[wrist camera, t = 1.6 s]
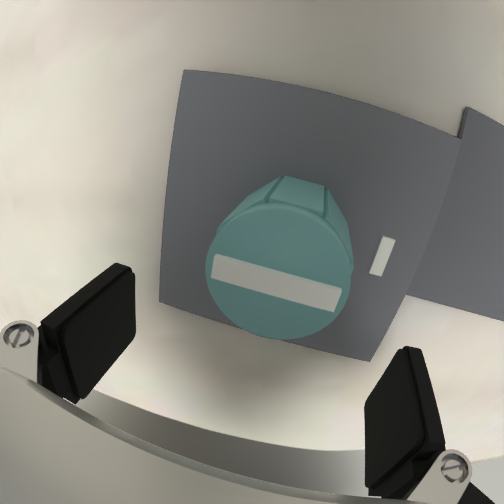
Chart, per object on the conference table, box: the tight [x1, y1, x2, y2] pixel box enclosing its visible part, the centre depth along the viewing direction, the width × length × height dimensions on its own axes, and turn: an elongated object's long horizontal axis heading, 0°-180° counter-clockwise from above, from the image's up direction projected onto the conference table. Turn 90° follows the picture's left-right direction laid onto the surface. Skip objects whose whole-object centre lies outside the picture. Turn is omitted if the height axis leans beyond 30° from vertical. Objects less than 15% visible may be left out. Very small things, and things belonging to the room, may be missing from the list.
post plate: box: [159, 70, 461, 362], centre depth 16 cm, size 16×16×5 cm
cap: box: [205, 176, 354, 339], centre depth 15 cm, size 6×6×6 cm
